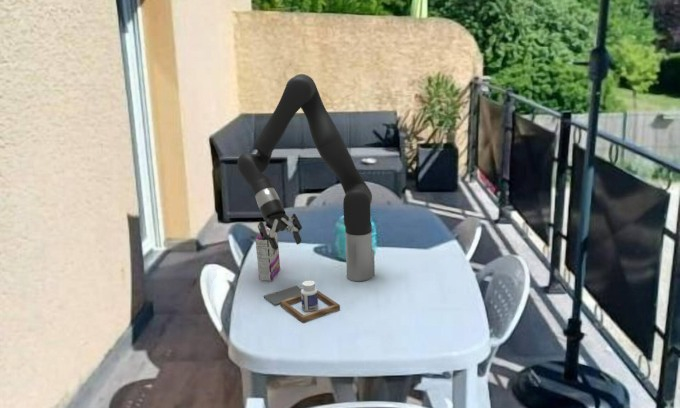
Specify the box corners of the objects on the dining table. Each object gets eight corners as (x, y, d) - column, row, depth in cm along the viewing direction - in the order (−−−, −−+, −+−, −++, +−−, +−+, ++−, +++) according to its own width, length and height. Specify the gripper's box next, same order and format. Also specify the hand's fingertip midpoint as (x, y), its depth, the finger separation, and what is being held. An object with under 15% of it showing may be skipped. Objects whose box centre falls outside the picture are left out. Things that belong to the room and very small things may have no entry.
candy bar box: (267, 268, 240) (264, 227, 235) (280, 269, 239) (277, 227, 234) (258, 281, 229) (254, 238, 224) (271, 282, 228) (268, 238, 223)
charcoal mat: (296, 287, 224) (296, 285, 223) (308, 295, 217) (308, 293, 217) (263, 297, 217) (263, 295, 217) (274, 306, 210) (274, 304, 210)
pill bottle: (320, 305, 210) (319, 280, 207) (314, 312, 205) (313, 287, 203) (305, 303, 212) (304, 278, 209) (299, 310, 207) (297, 285, 204)
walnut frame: (316, 294, 218) (316, 289, 217) (340, 309, 207) (339, 304, 206) (280, 306, 210) (280, 301, 210) (302, 322, 199) (302, 317, 199)
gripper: (254, 202, 211) (272, 245, 206) (291, 194, 219) (310, 236, 213) (247, 213, 217) (265, 256, 212) (284, 205, 225) (302, 246, 219)
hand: (288, 246), depth 213 cm, fingers open, 8 cm apart
